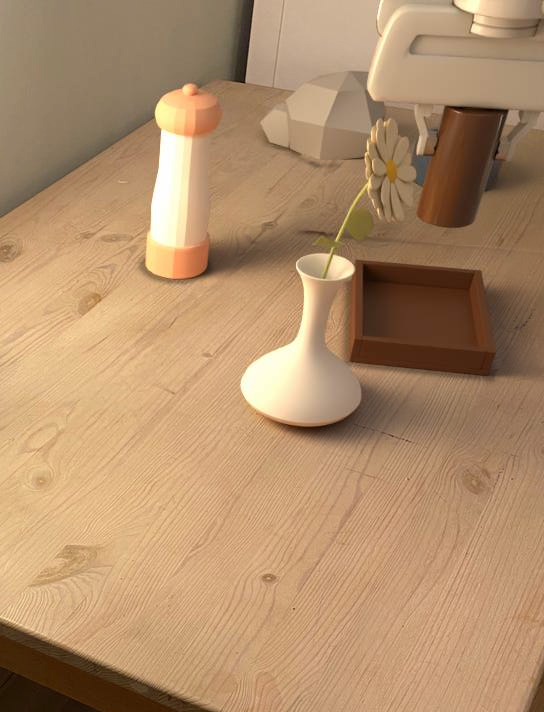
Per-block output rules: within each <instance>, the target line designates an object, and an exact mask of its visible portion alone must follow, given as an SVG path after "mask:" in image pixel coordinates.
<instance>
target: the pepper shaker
mask: <svg viewBox="0 0 544 712" xmlns="http://www.w3.org/2000/svg"><path fill="white" fill-rule="evenodd" d="M222 113H223V112H222V106H221V103H220V101H219V99H218V98H217V97H216V95H214V94H212V93H210V92H209V91H206V90H203V89H200V88H198V86H197V84H195V83H186V84H184V85H183V87H182V88H179V89H175V90H173V91H170V92H168V93H166V94H164V95H162V97H161V98H160V100H159V101H158V103H157V104H156V107H155V111H154V117H155V121H156V124H157V126H158V127H159V128H160V130H161V131H160V132H161V134H160V145H159V146H160V149H159V163H158V171H157V176H156V181H155V185H154V189H153V194H152V199H151V200H152V201H151V210H150V211H151V215H150V218H151V219H150V229H149V231H148V232H147V233H146V248H145V249H146V250H145V267H146V269H147V270H148V271H149V272H151V273H152V274H154V275H156V276H159V277H162V278H167V279H172V280H173V279H175V280H177V279H178V280H179V279H180V280H183V279H189V278H194V277H196V276H200V275H201V274H203V273H204V272H205V271H206V269H207V268H208V261H209V252H210V243H211V238H210V237H211V236H210V233H209V231H208V230H209V229H208V228H209V222H210V214H211V185H210V164H211V162H210V161H211V152H212V141H213V131H215V130H216V129H217V128H218V126H219V125H220V122H221V120H222V117H223V114H222Z"/></svg>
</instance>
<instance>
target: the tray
mask: <svg viewBox="0 0 544 712" xmlns="http://www.w3.org/2000/svg"><path fill="white" fill-rule="evenodd" d="M353 265H354V267H355V272H354V274H353V275H352V276H351V279H350V305H349V306H350V308H349V311H350V312H349V349H348V351H349V355H348V357H349V358H348V361H349V362H351V363H363V364H369V365H380V366H390V367H399V368H400V367H401V368H409V369H410V368H411V369H419V370H429V371H438V372H449V373H458V374H459V373H460V374H469V375H477V376H489V373H490V370H491V367H492V364H493V362H494V358H495V356H496V354H497V351H496V345H495V340H494V335H493V329H492V328H493V327H492V323H491V317H490V313H489V307H488V300H487V295H486V289H485V283H484V277H483V271H482V270H481V269H470V268H468V269H467V268H458V267H448V266H447V267H446V266H435V265H423V264H413V263H412V264H410V263H402V262H401V263H400V262H389V261H378V260H377V261H376V260H368V259H367V260H366V259H355V262H354V264H353Z"/></svg>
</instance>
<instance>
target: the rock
mask: <svg viewBox="0 0 544 712" xmlns="http://www.w3.org/2000/svg"><path fill="white" fill-rule="evenodd" d="M368 74H369V71H365V70H363V71H362V70H345V71H338V72H333V73H326V74H321V75H318V76H316V77H314V78H312V79H309V80H307V81H306V82H305V83H303V85H301V86H300V87H299V88H298V89H296V90H295V91H294V92H293V93H292V94H291V95H290V96H288V97H287V98H286V99H285V102H281V103H277V104H275V106H273V107H272V108H271V109H270V110H269V111H268V112H267V113H266V114H265V115H264V116H263V118H262V119H261V120H260V125H261V127H262V129H263V132H264V134H265V135H266V138H267V140H268V142H269V143H271V144H274V145H278V146H281V147H285V148H287V149H288V148H289V149H290V150H292V151H295V152H297V153H298V154H301V155H302V154H303V155H305V156H308V157H311V158H313V159H316V160H318V161H337V160H338V161H341V160H342V161H343V160H350V159H360V158H365V153H366V152H368V150H367V140H368V138H370V139H371V131H372V127H373V126H376V124H377V121H378V120H379V119H380V118H381V119H382V120H383V122H385V120H384V119H385V117H386V112H387V108H386V104H385V102H378V101H374V100H373V99H372V97H371V96H370V94H369V92H368V90H367V80H368Z"/></svg>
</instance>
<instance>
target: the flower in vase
mask: <svg viewBox="0 0 544 712" xmlns="http://www.w3.org/2000/svg"><path fill="white" fill-rule="evenodd" d="M398 127H399V126H398V123H397V122H396V120H394V118H392V117H390V118H388V120H384V121H383V120H382V119H381V118H380V119H379V120H378V121H377V124H376V126H373V127H372V131H371V139H370V138H368V140H367V150H368V152H366V153H365V156H364V162H365V166H366V167H365V177H366V180H367V182H366V183H365V185H364V186H363V188H362V189H361V190H360V192H359V194H358V195H357V197H356V198H355V199H354V201H353V203H352V205H351V206H350V208H349V209H348V212H347V214H346V216H345V218H344V221H343V223H342V226H341V227H340V230H339V232H338V234H337V237H336V239H335V240H331V239H329V238H327V236H324V235H322V234H321V235H320V236H319V237H318V239H317V240H316V241H315V242H313V243H312V245H313V246H318V247H324V248H330V249H331V250H330V252H329V253H323V252H322V253H321V252H320V253H319V252H318V253H311V254H310V253H309V254H307V255H304V256H302V257H300V258H299V259H298V260H297V261H296V263H295V268H296V270H297V273H298V274H299V276H300V278H301V281H302V285H303V294H304V295H303V297H304V298H303V312H302V318H301V323H300V328H299V331H298V333H297V335H296V337H295V339H294V340H293V341H292V342H290V343H289V344H287V345H284V346H282V347H279V348H277V349H275V350H272V351H270V352H268V353H266V354H264V355H263V356H260V357H259V358H258V359H256V360H255V361H253V362H252V363H251V364H249V366H248V367H247V369H246V370H245V372H244V373H243V376H242V377H241V380H240V389H241V393H242V394H243V397H244V398H245V400H246V401H247V403H248V404H249V406H250V407H251V408H252V409H253V410H254V411H255V412H257V413H258V414H260V415H261V416H264V417H266V418H267V419H270V420H272V421H274V422H278V423H280V424H285V425H290V426H296V427H320V426H327V425H330V424H331V425H332V424H335V423H338V422H340V421H342V420H344V419H345V418H347V417H348V416H350V415H351V414H352V413H353V412H354V411H355V410H356V409H357V408H358V407H359V405H360V403H361V401H362V388H361V383H360V380H359V378H358V377H357V375H356V374H355V373H354V372H353V370H352V368H350V366H349V365H348V364H347V363H346V362H344V360H342V359H341V358H340V357H339V356H338V355H336V354H335V353H334V352H332V350H330V348H329V347H328V346H327V343H326V328H327V324H328V320H329V315H330V312H331V309H332V307H333V303H334V301H335V298H336V296H337V294H338V292H340V289H341V288H342V286H343V285H344V284H345V283H346V282H347V281H348V280H349V279H350V278H352V275H353V274H354V272H355V267H354V265H355V264H353V263H352V262H351V261H350V260H349V259H347V258H345V257H342V256H340V255H337V254H335V253H336V251H337V248H339V247H342V246H343V245H345V244H346V243H345V242H343V241H340V240H342V239H341V238H342V237H343V234H344V232H345V230H346V228H347V230H348V232H349V234H350V235H351V237H352V238H353V239H354V240H355V241H358V242H359V241H363V240H364V239H366V238H367V237H368V236H369V235H370V234H371V233H372V231H373V229H374V226H375V219H374V216H373V215H372V213H371V212H370V211H368V210H367V209H365V208H363V207H357V206H358V204H359V203H360V201H361V199H362V198H363V197H364V195H365V194H366V192H367V194H368V197H369V199H371V202H372V205H373V207H374V209H375V210H376V211H377V216H378V217H379V219H380V220H384V218H385V219H386V220H387V222H389V223H391V222H392V221H393V222H395V223H397V222H398V221H401V222H403V221H404V220H405V212H404V206H403V205H405V206H406V207H407V208H409V209H410V208H413V206H414V199H413V196H414V193H415V192H414V191H415V190H414V187H413V185H412V184H411V182H414V181H413V180H415V178H416V170H415V168H414V167H412V166H410V164H411V162H412V154H411V153H409V152H408V150H409V147H410V140H409V138H408V136H403V137H402V136H401V135H399V129H398ZM356 207H357V208H356Z"/></svg>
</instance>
